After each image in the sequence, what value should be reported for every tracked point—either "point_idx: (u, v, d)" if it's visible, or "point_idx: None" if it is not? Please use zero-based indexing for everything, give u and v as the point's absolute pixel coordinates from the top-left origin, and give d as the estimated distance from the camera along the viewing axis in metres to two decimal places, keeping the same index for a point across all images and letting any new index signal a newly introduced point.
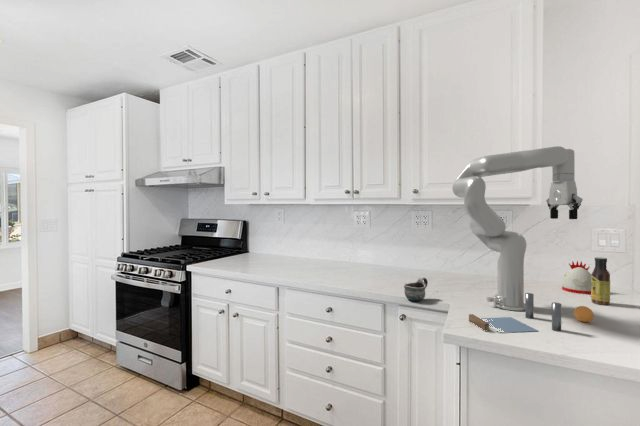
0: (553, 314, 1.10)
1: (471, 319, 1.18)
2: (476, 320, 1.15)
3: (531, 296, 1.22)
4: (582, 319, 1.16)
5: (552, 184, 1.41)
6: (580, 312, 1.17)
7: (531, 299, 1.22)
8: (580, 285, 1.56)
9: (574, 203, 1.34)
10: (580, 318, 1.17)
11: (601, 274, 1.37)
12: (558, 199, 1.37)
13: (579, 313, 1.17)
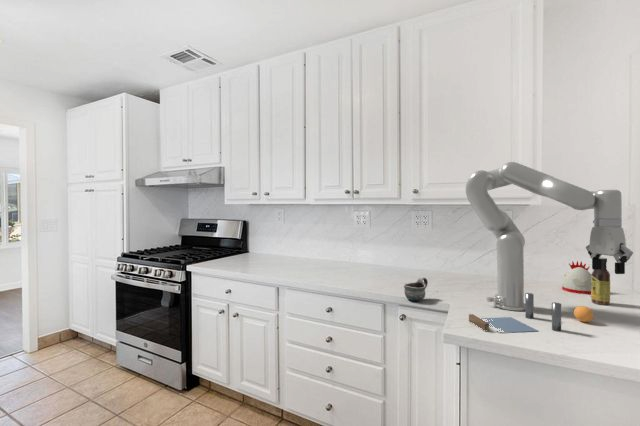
0: (553, 314, 1.10)
1: (471, 319, 1.18)
2: (476, 320, 1.15)
3: (531, 296, 1.22)
4: (582, 319, 1.16)
5: (594, 229, 1.21)
6: (580, 312, 1.17)
7: (531, 299, 1.22)
8: (580, 285, 1.56)
9: (621, 255, 1.14)
10: (580, 318, 1.17)
11: (601, 274, 1.37)
12: (602, 248, 1.18)
13: (579, 313, 1.17)
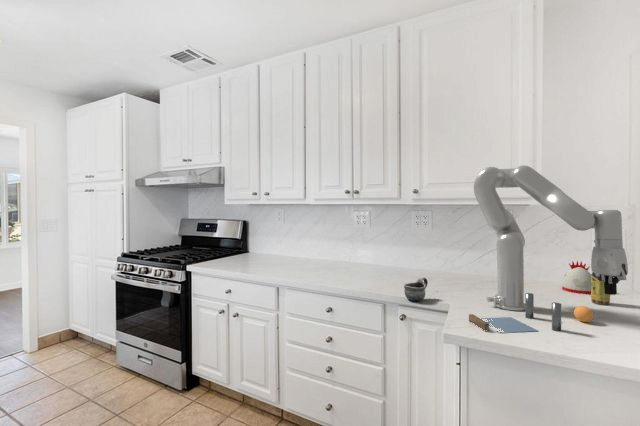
0: (553, 314, 1.10)
1: (471, 319, 1.18)
2: (476, 320, 1.15)
3: (531, 296, 1.22)
4: (582, 319, 1.16)
5: (595, 249, 1.21)
6: (580, 312, 1.17)
7: (531, 299, 1.22)
8: (580, 285, 1.56)
9: None
10: (580, 318, 1.17)
11: None
12: (604, 268, 1.17)
13: (579, 313, 1.17)
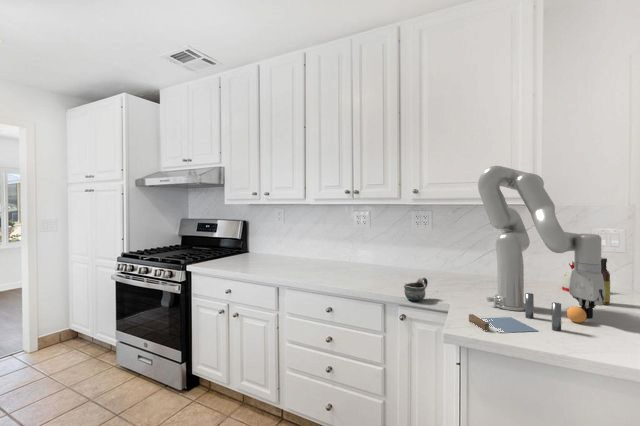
0: (553, 314, 1.10)
1: (471, 319, 1.18)
2: (476, 320, 1.15)
3: (531, 296, 1.22)
4: (579, 322, 1.16)
5: (574, 272, 1.20)
6: (572, 318, 1.16)
7: (531, 299, 1.22)
8: None
9: (594, 301, 1.16)
10: (577, 322, 1.17)
11: None
12: (581, 292, 1.17)
13: (573, 319, 1.16)
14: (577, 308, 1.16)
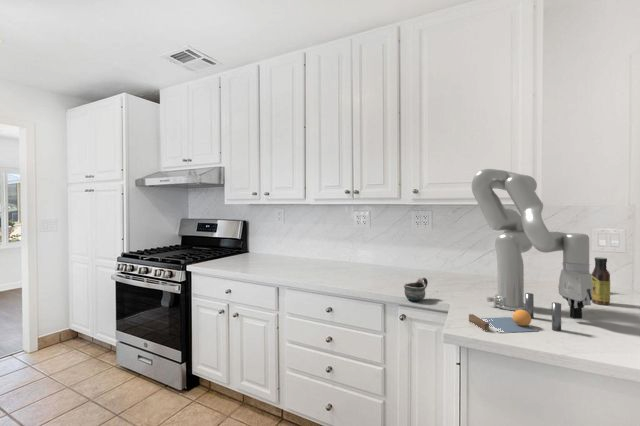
0: (553, 314, 1.10)
1: (471, 319, 1.18)
2: (476, 320, 1.15)
3: (531, 296, 1.22)
4: None
5: (562, 272, 1.20)
6: None
7: (531, 299, 1.22)
8: None
9: (582, 301, 1.16)
10: None
11: (601, 274, 1.37)
12: (570, 292, 1.17)
13: None
14: (517, 320, 1.13)
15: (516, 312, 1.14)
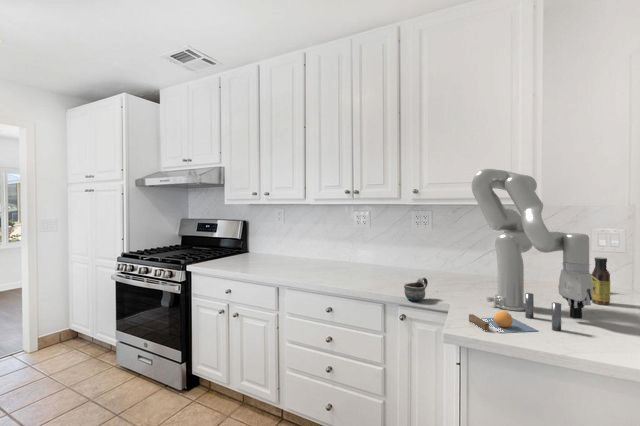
0: (553, 314, 1.10)
1: (471, 319, 1.18)
2: (476, 320, 1.15)
3: (531, 296, 1.22)
4: (500, 316, 1.12)
5: (562, 272, 1.20)
6: (505, 312, 1.12)
7: (531, 299, 1.22)
8: None
9: (582, 301, 1.16)
10: (500, 314, 1.12)
11: (601, 274, 1.37)
12: (570, 292, 1.17)
13: (504, 312, 1.12)
14: None
15: None
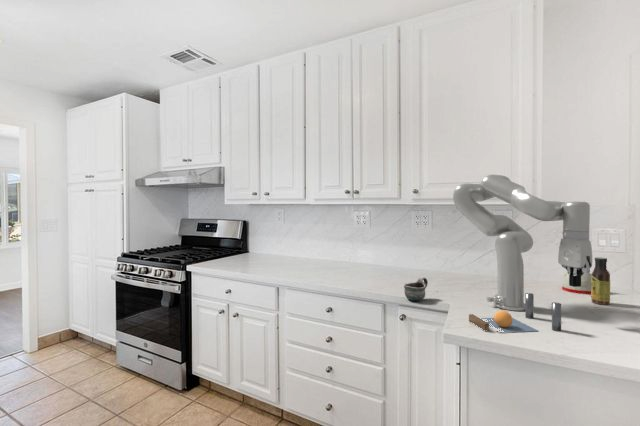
0: (553, 314, 1.10)
1: (471, 319, 1.18)
2: (476, 320, 1.15)
3: (531, 296, 1.22)
4: (500, 316, 1.12)
5: (562, 241, 1.20)
6: (505, 312, 1.12)
7: (531, 299, 1.22)
8: None
9: None
10: (500, 314, 1.12)
11: (601, 274, 1.37)
12: (569, 260, 1.17)
13: (504, 312, 1.12)
14: None
15: None
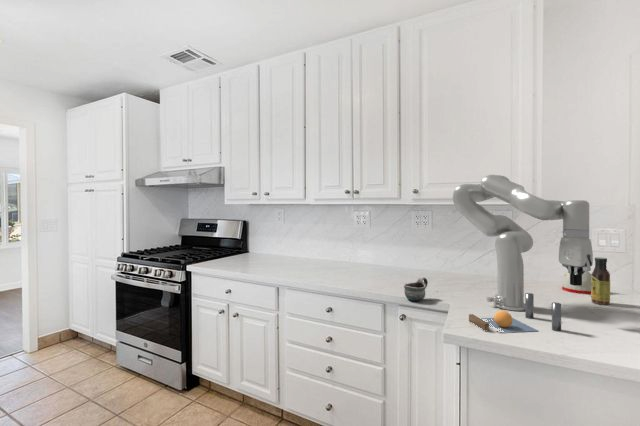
0: (553, 314, 1.10)
1: (471, 319, 1.18)
2: (476, 320, 1.15)
3: (531, 296, 1.22)
4: (500, 316, 1.12)
5: (562, 239, 1.20)
6: (505, 312, 1.12)
7: (531, 299, 1.22)
8: (580, 285, 1.56)
9: (582, 268, 1.16)
10: (500, 314, 1.12)
11: (601, 274, 1.37)
12: (570, 259, 1.17)
13: (504, 312, 1.12)
14: None
15: None
